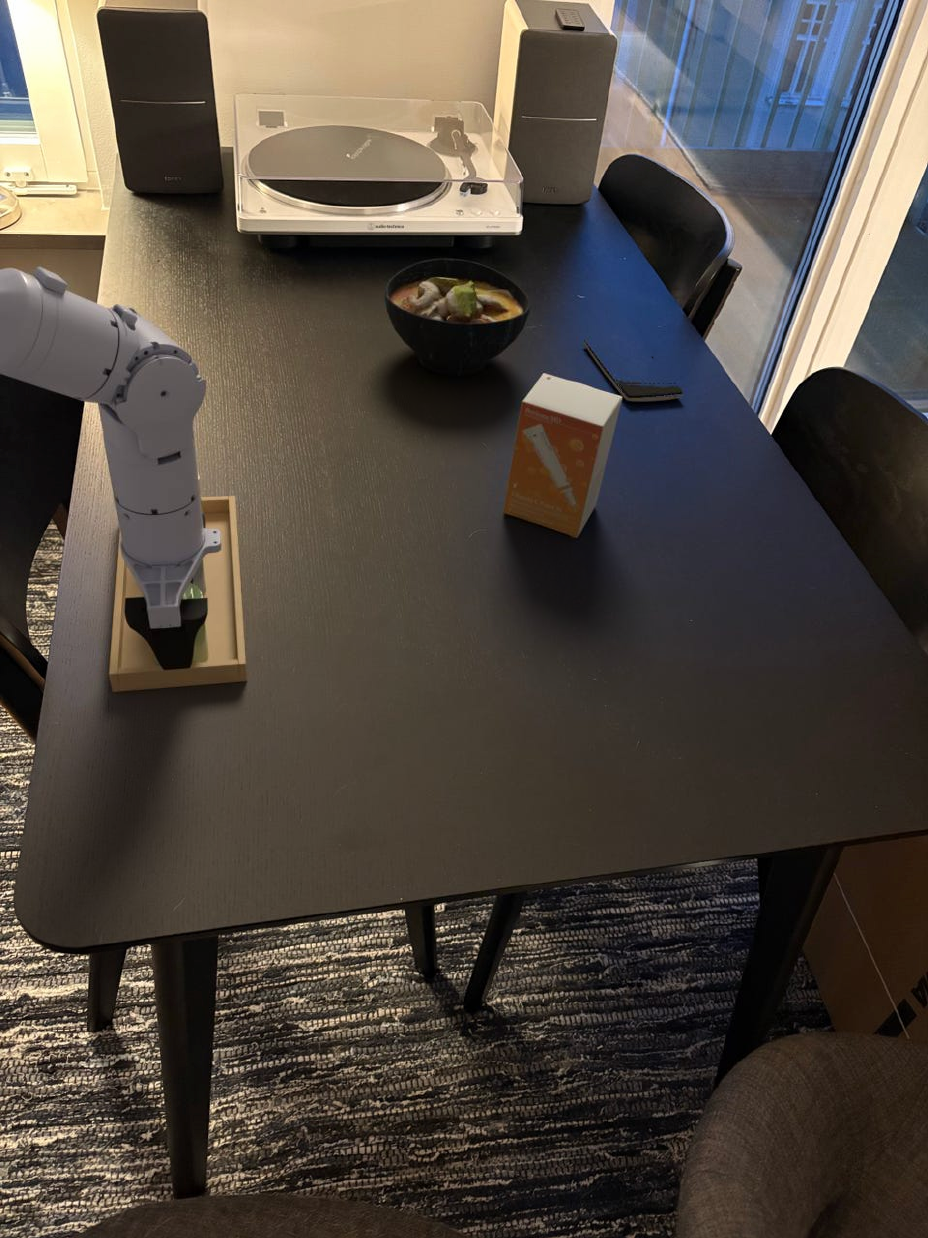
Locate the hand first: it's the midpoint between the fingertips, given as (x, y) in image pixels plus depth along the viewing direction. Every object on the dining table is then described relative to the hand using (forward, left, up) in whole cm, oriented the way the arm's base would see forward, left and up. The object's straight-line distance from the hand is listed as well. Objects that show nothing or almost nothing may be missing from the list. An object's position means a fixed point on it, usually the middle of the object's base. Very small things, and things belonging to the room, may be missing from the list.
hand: (177, 631), depth 76 cm
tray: (0, +8, -3) cm, 9 cm away
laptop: (+54, +44, -3) cm, 70 cm away
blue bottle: (0, +8, -3) cm, 8 cm away
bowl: (+32, +48, -3) cm, 58 cm away
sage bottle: (0, 0, -3) cm, 3 cm away
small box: (+36, +17, -3) cm, 40 cm away
